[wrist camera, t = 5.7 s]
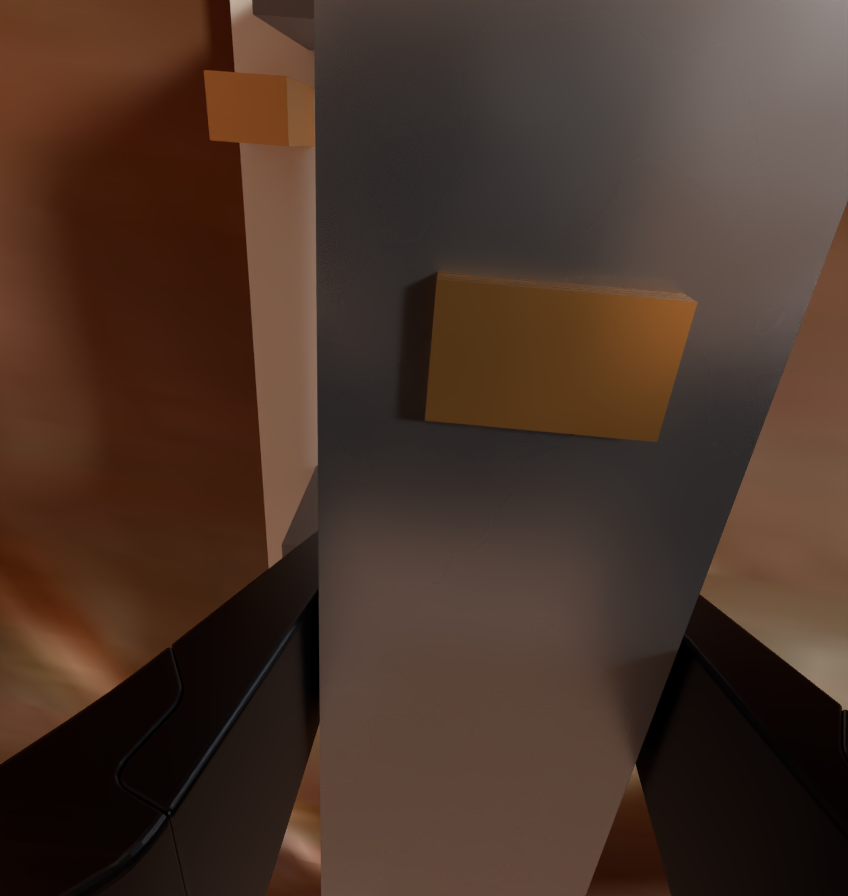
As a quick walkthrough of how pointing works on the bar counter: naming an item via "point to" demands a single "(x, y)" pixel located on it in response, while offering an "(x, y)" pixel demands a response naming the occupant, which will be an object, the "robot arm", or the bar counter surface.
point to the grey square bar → (540, 395)
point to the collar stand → (278, 244)
